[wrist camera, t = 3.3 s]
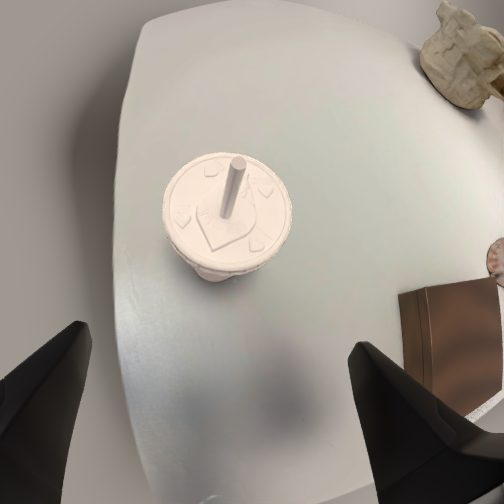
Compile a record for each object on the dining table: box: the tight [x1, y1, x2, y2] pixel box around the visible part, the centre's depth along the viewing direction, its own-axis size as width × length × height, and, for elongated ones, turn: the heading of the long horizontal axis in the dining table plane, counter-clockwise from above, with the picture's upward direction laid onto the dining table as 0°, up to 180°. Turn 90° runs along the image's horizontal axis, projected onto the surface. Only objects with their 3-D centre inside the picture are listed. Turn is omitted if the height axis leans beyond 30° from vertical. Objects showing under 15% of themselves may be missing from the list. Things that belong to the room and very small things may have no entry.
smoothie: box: [162, 152, 292, 282], centre depth 16 cm, size 6×6×14 cm
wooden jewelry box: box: [398, 276, 503, 417], centre depth 22 cm, size 14×14×4 cm
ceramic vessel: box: [420, 0, 504, 109], centre depth 33 cm, size 23×24×25 cm
